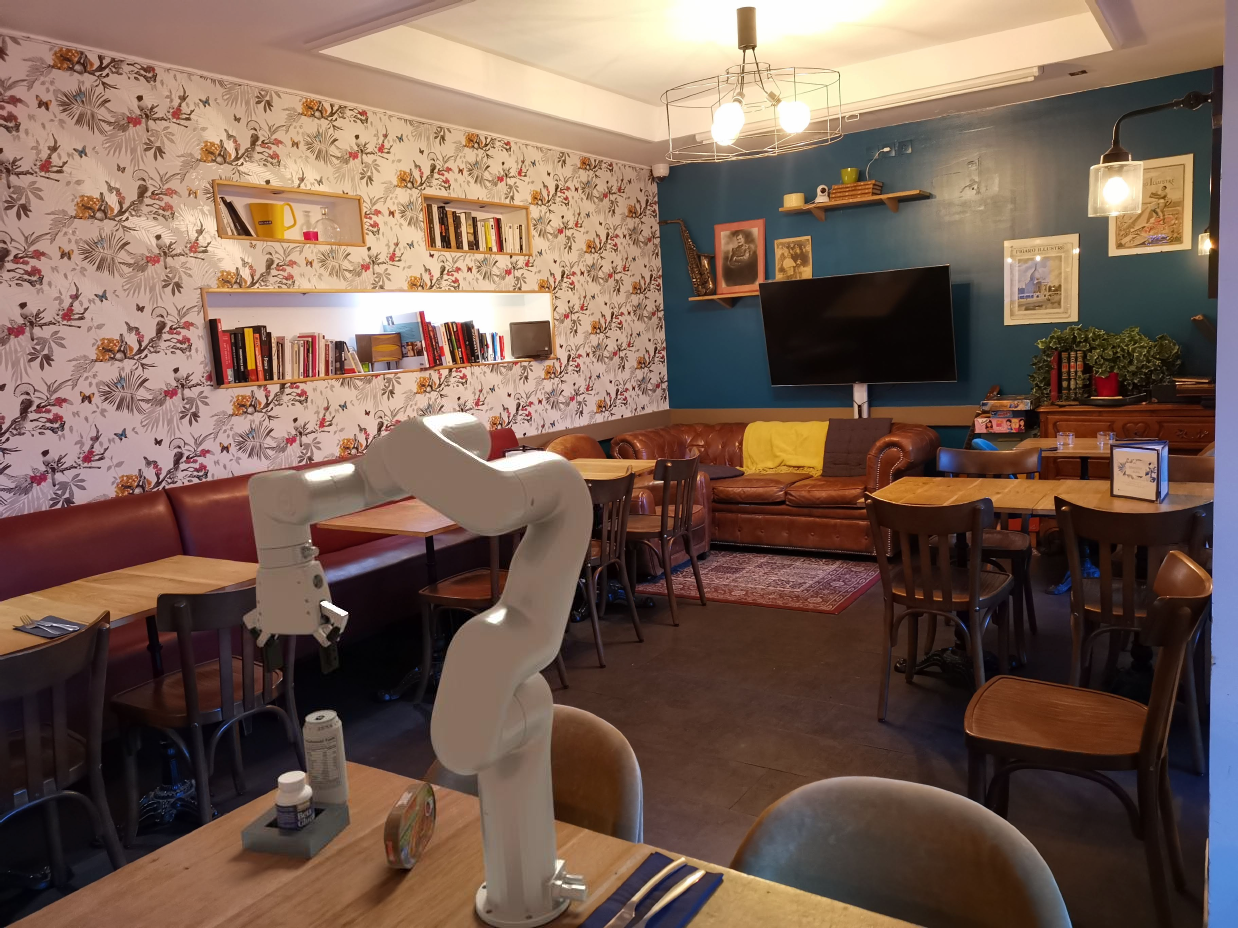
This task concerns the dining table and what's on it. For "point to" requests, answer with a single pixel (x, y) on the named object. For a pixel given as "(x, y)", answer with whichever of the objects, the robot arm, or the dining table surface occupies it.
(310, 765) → the energy drink can
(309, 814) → the pill bottle
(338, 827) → the socket block
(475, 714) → the robot arm
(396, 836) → the tin
